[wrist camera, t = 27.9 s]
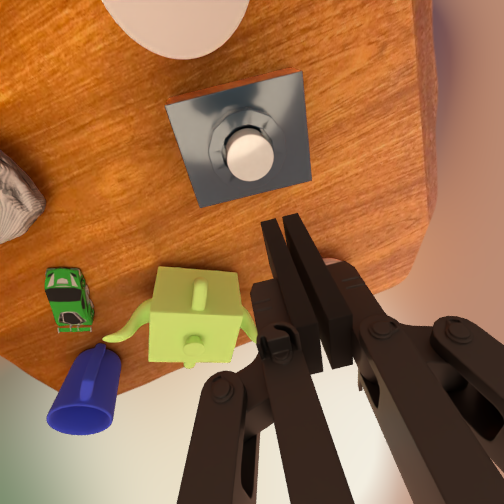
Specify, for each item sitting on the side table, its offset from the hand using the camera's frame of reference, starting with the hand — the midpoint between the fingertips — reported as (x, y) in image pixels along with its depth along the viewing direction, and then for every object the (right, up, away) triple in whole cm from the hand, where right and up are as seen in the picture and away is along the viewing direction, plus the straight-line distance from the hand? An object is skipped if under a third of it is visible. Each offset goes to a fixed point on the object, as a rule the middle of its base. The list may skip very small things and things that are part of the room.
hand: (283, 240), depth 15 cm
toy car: (-26, -6, +26) cm, 37 cm away
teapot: (-10, -6, +28) cm, 30 cm away
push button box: (-3, +12, +16) cm, 20 cm away
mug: (-26, -16, +33) cm, 45 cm away
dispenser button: (-2, +9, +12) cm, 15 cm away
